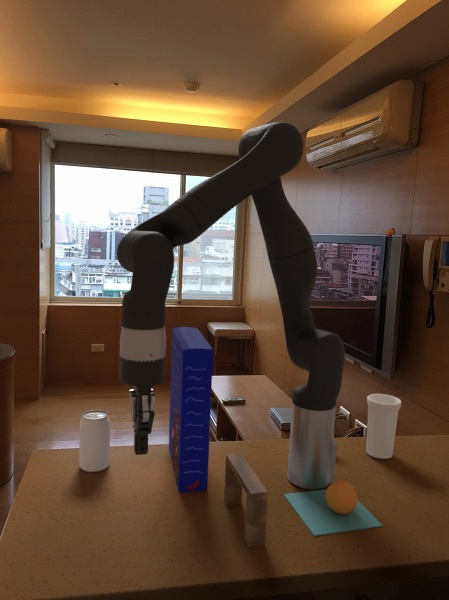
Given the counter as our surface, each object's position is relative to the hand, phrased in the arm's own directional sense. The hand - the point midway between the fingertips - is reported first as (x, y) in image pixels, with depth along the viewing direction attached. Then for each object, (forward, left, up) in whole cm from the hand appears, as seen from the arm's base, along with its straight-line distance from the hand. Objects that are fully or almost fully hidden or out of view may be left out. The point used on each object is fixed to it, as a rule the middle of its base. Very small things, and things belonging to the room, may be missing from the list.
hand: (140, 452), depth 83 cm
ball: (-39, +1, -12) cm, 40 cm away
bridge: (-19, 0, -15) cm, 24 cm away
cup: (-61, -20, -15) cm, 66 cm away
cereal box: (-13, -23, -15) cm, 30 cm away
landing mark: (-37, 0, -15) cm, 40 cm away
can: (+7, -27, -15) cm, 32 cm away
